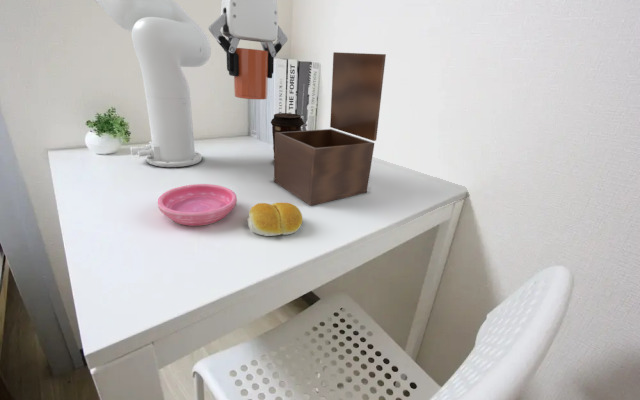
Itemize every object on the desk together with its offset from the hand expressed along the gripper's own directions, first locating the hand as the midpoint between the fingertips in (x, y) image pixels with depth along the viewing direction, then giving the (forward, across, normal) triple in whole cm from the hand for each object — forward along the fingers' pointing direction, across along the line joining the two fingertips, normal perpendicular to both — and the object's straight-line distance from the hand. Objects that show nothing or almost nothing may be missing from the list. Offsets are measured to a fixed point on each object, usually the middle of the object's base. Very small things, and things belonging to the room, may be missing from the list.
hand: (251, 76), depth 62 cm
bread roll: (+22, +7, +22) cm, 32 cm away
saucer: (+22, +16, +12) cm, 30 cm away
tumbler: (+4, 0, 0) cm, 4 cm away
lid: (+2, -18, +11) cm, 22 cm away
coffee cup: (+22, -13, -7) cm, 27 cm away
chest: (+22, -11, +11) cm, 27 cm away
